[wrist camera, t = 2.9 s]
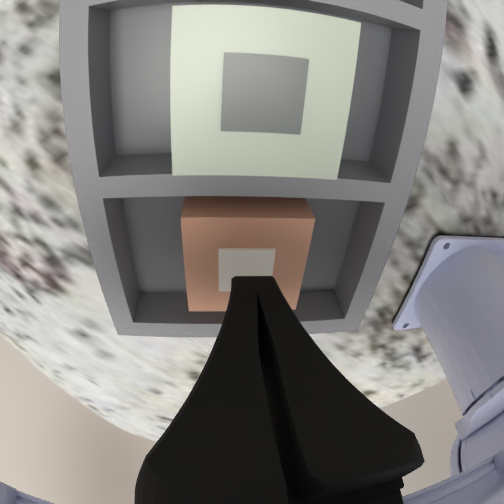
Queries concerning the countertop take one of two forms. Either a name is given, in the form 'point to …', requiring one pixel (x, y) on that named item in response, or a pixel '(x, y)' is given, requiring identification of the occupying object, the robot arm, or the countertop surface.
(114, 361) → the countertop surface
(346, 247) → the grey compartment tray
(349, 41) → the key sage
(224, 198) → the key terracotta
